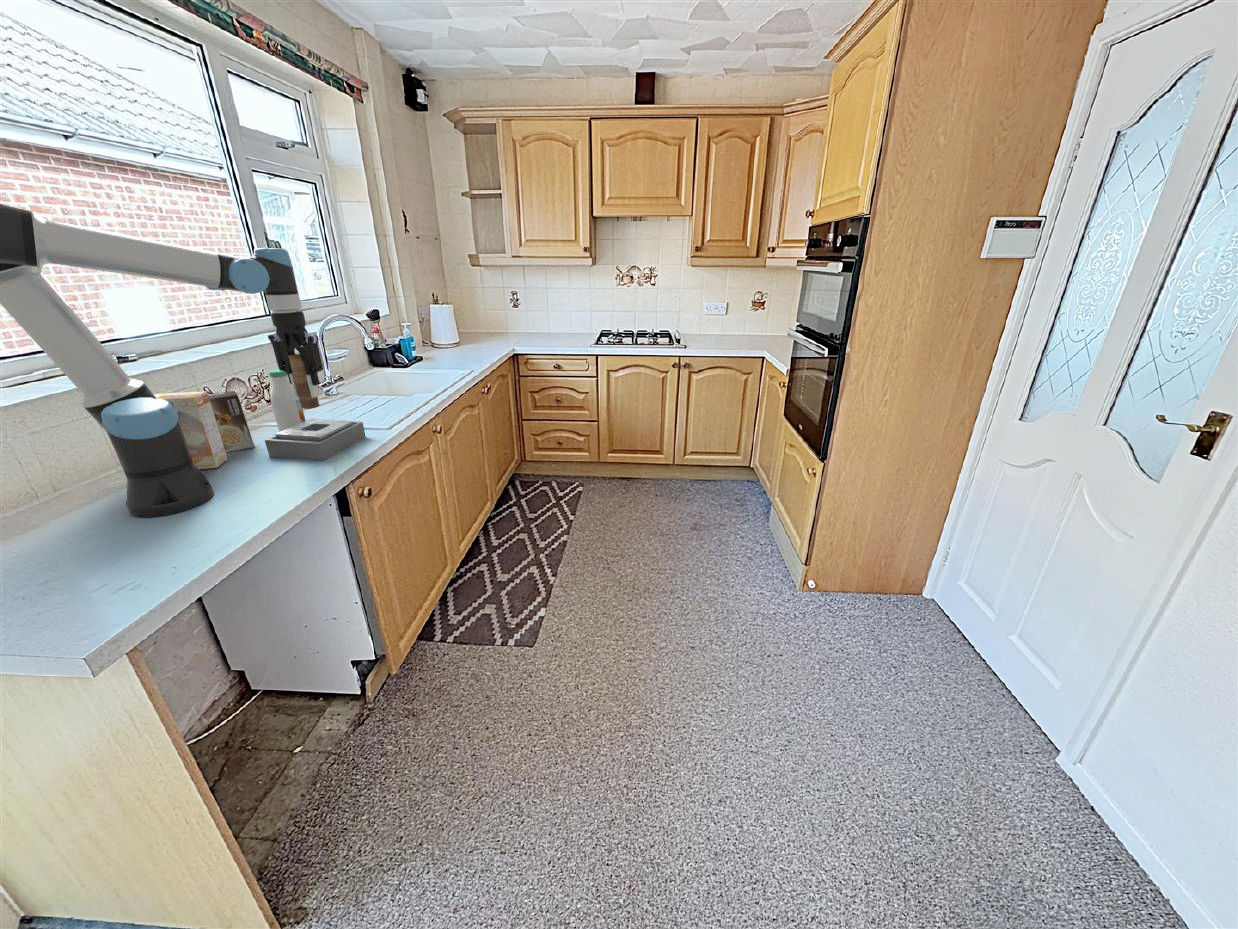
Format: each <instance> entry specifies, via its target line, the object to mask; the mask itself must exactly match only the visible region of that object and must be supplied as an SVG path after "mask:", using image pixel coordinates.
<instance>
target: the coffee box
mask: <svg viewBox="0 0 1238 929" xmlns="http://www.w3.org/2000/svg"><path fill="white" fill-rule="evenodd" d="M208 397H209V400H210V403H211V406H212V410H213V413H214V416H215V420H216V423H217V426H218V429H219V433H220V436H221V439H222V442H223V446H224V449H225V452H227V453H231V452H230V451H232V452H236V451H235V450H237V451H240V449H242V450H246V449H251V448H254V447H255V443H254V441H253V438H252V434H251V431H250V428H249V425H248V421H247V418H246V415H245V413H244V410H243V406H242V404H241V401H240V398H239V395H238V393H237V392H236V391H235V390H230V391H223V392H215V393H208ZM245 448H246V449H245Z"/></svg>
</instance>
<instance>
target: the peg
mask: <svg viewBox="0 0 1238 929" xmlns="http://www.w3.org/2000/svg"><path fill="white" fill-rule="evenodd" d="M288 358H289V361H290V365H291V369H292V373H293V377H294V381H295V384H296V388H297V392H298V396H299V400H300V404H301V407H302V409H303V410H311V409H316V408H319V407H320V402H319V396H317V397H314V398H312V397H311V393H310V389H309V385H308V381H307V377H306V375H307V374H306V373H308V371H307V369H306V367H305V365H304V363H303V360H302V358H301V355H300V354H299V352H295V353H294V354H290V355H288Z"/></svg>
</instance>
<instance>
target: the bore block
mask: <svg viewBox="0 0 1238 929" xmlns="http://www.w3.org/2000/svg"><path fill="white" fill-rule="evenodd" d="M305 420H306V419H305ZM352 421H353V420H341V419H340V420H339V419H324V418H323V419H321V418H309V419H307V420H306V421H304V422H302V423H299V424H297V425H295V426H292V427H290V428H288V429H285V430H283V431H281V432H279V431H278V432H276V433H275V434H274V436H275V435H276V438H277V439H279V440H294V441H308V442H320V441H322V440H324V439H326V438H328V437H330V436H332V435H334V434H336V433H338V432H340V431H342V430H344V429H346V428H348V427H350V426H352V425H353V422H352Z"/></svg>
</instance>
